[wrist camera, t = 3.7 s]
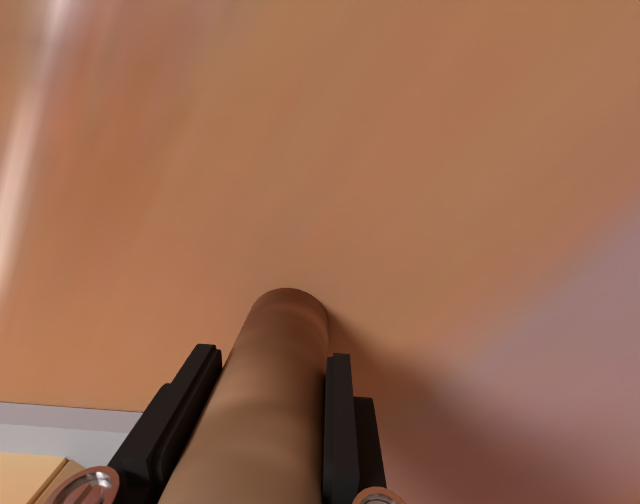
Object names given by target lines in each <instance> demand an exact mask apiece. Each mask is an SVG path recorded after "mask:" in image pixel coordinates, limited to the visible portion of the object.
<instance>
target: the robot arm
mask: <svg viewBox="0 0 640 504" xmlns="http://www.w3.org/2000/svg"><path fill="white" fill-rule="evenodd" d="M221 371H222V355H221V350H218V349H216V346H215V345H210V344H197V345H196V346H195V348H194V349H193V351H192V352H191V354H190V355H189V357H188V358H187V360H186V361H185V363H184V364H183V366H182V367H181V369H180V370H179V372H178V373H177V375H176V376H175V378H174V380H173V381H172V383H171V384H169V383H166V384H164V385H163V386H162V387H161V388H160V389H159V391H158V392H157V394H156V395H155V397H154V398H153V400H152V401H151V402H150V404H149V405H148V407H147V408H146V410H145V411H144V413H143V414H142V415H141V417H140V418H139V420H138V421H137V423H136V424H135V426H134V427H133V428H132V430H131V431H130V433H129V434H128V436H127V437H126V439H125V440H124V441H123V443H122V444H121V446H120V447H119V449H118V450H117V452H116V453H115V454H114V456H113V457H112V459H111V460H110V462H109V463H108V465H107V466H95V467H90V468H87V469H85V470H82V471H80V472H78V473H76V474H74V475H73V476H71V477H70V478H68V479H67V480H65V481H64V482H63V483H62V484H61V485H60V486H58V487H57V488H56V489H55V490H54V491H53V493H52V494H51V495H50V496H49V498H48V499H47V500H46V502H45V503H44V504H158V502H159V499H160V497H161V495H162V493H163V491H164V489H165V487H166V485H167V483H168V481H169V479H170V477H171V475H172V472H173V470H174V468H175V466H176V464H177V462H178V460H179V458H180V456H181V454H182V452H183V450H184V447H185V445H186V443H187V441H188V439H189V437H190V435H191V433H192V431H193V429H194V427H195V425H196V423H197V420H198V418H199V416H200V414H201V412H202V410H203V408H204V406H205V404H206V402H207V400H208V398H209V396H210V393H211V391H212V389H213V387H214V385H215V383H216V381H217V379H218V377H219V375H220V373H221ZM322 503H323V504H406V503H405V502H404V501H403V500H402V498H401V497H400V496H398V495H397V494H396V493H394V492H393V491H391V490H389V489H387V487H386V480H385V474H384V468H383V461H382V455H381V448H380V442H379V436H378V429H377V423H376V416H375V410H374V404H373V400H372V398H366V397H353V388H352V376H351V364H350V354H341V353H333V357H327V364H326V378H325V413H324V448H323V483H322Z"/></svg>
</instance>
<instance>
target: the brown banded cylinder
mask: <svg viewBox="0 0 640 504" xmlns="http://www.w3.org/2000/svg"><path fill="white" fill-rule="evenodd" d="M327 357H328V317H327V314H326V311H325V309H324V308H323V306H322V305H321V304H320V302H319V301H318V300H317V299H315V298H314V297H313V296H311V295H310V294H308V293H306V292H304V291H301V290H298V289H292V288H280V289H275V290H272V291H269V292H267V293H265V294H264V295H262V296H261V297H260V298H259V299H258V300H257V301H256V302H255V303H254V305H253V306H252V308H251V310H250V312H249V314H248V317H247V319H246V321H245V323H244V325H243V327H242V329H241V331H240V333H239V335H238V337H237V339H236V342H235V344H234V346H233V348H232V350H231V352H230V354H229V356H228V358H227V360H226V362H225V364H224V366H223V369H222V371H221V373H220V375H219V377H218V379H217V381H216V383H215V385H214V387H213V389H212V391H211V393H210V396H209V398H208V400H207V402H206V404H205V406H204V408H203V410H202V412H201V414H200V416H199V418H198V420H197V423H196V425H195V427H194V429H193V431H192V433H191V435H190V437H189V439H188V441H187V443H186V445H185V447H184V450H183V452H182V454H181V456H180V458H179V460H178V462H177V464H176V466H175V468H174V470H173V472H172V475H171V477H170V479H169V481H168V483H167V485H166V487H165V489H164V491H163V493H162V495H161V497H160V499H159V502H158V504H323V503H322V483H323V448H324V413H325V378H326V364H327Z"/></svg>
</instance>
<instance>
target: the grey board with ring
mask: <svg viewBox="0 0 640 504" xmlns="http://www.w3.org/2000/svg"><path fill="white" fill-rule="evenodd" d="M142 414H143V413H140V412H126V411H113V410H99V409H85V408H72V407H58V406H44V405H31V404H17V403H3V402H0V504H44V503H45V502H46V500H47V499H48V498H49V496H50V495H51V494H52V493H53V491H54V490H55V489H56V488H57V487H58V486H60V485H61V484H62V483H63V482H64V481H65V480H67V479H68V478H70V477H71V476H73V475H74V474H76V473H78V472H80V471H82V470H85V469H87V468H90V467H95V466H107V465H108V463H109V462H110V460H111V459H112V457H113V456H114V454H115V453H116V452H117V450H118V449H119V447H120V446H121V444H122V443H123V441H124V440H125V439H126V437H127V436H128V434H129V433H130V431H131V430H132V428H133V427H134V426H135V424H136V423H137V421H138V420H139V418H140V417H141V415H142Z"/></svg>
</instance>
